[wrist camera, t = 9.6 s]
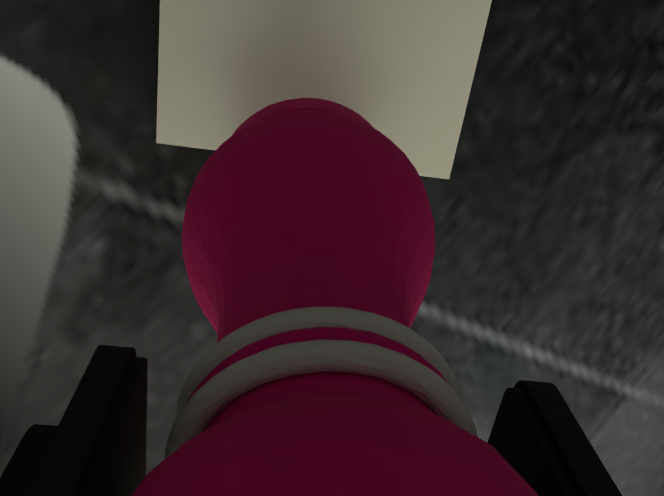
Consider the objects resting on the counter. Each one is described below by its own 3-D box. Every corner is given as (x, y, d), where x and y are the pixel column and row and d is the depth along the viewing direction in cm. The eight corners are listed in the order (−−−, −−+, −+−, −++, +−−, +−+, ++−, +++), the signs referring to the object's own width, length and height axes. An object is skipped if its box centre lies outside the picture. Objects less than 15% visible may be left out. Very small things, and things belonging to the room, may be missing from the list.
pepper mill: (420, 251, 23) (864, 1299, 5) (235, 291, 23) (51, 1414, 5) (389, 59, 20) (1275, 1064, 2) (176, 107, 20) (-749, 1368, 2)
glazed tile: (169, 125, 27) (180, -207, 22) (435, 159, 28) (503, -146, 23) (156, 142, 24) (165, -229, 19) (449, 179, 25) (529, -158, 20)
